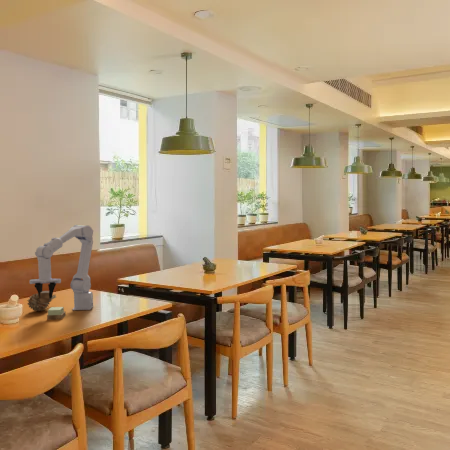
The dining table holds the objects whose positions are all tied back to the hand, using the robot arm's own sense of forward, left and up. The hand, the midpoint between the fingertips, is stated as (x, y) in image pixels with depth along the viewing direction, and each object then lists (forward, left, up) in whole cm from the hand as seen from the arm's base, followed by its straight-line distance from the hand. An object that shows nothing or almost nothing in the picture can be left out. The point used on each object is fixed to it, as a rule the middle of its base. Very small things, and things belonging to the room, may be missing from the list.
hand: (46, 298), depth 237 cm
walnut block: (0, 0, -2) cm, 2 cm away
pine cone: (+7, -17, -10) cm, 21 cm away
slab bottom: (-5, 0, -10) cm, 11 cm away
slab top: (-5, +1, -8) cm, 9 cm away
